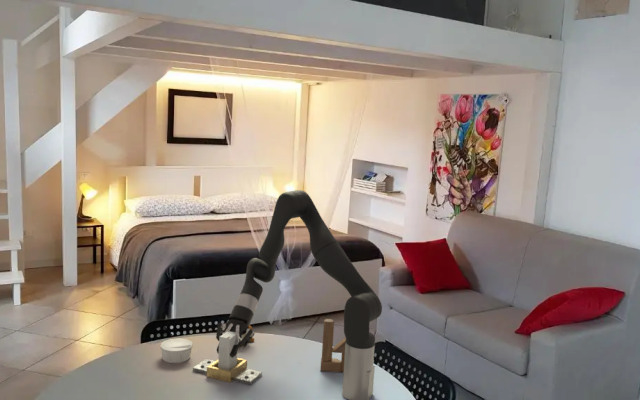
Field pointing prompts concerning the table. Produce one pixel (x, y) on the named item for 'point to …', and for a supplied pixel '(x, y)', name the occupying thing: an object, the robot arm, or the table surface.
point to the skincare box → (227, 351)
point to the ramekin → (176, 350)
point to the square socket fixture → (235, 374)
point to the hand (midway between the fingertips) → (225, 354)
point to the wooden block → (331, 349)
